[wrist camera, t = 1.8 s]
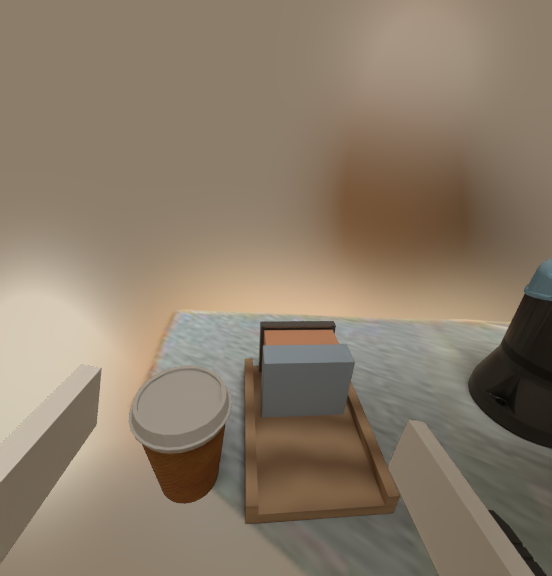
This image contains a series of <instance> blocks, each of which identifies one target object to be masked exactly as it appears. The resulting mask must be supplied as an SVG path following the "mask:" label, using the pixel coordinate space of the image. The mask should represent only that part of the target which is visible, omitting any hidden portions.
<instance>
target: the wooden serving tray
mask: <svg viewBox="0 0 552 576" xmlns="http://www.w3.org/2000/svg"><path fill="white" fill-rule="evenodd" d="M261 379H262V372H259V366H253V359H245V523H246V524H253V523H267V522H280V521H294V520H307V519H321V518H334V517H347V516H361V515H374V514H388V513H393V512H394V510H395V507H396V505H397V502H398V500H399V497H400V495H399V493H398V491H397V488H396V486H395V483H394V481H393V479H392V476H391V474H390V472H389V469H388V467H387V465H386V462H385V460H384V458H383V455H382V453H381V451H380V448H379V446H378V444H377V441H376V439H375V437H374V434H373V432H372V429H371V427H370V425H369V422H368V420H367V418H366V415H365V413H364V411H363V408H362V406H361V404H360V401H359V399H358V397H357V394H356V392H355V390H354V387H353V385H352V383H350V387H349V392H348V397H347V401H346V406H345V411H344V414H342V415H316V416H290V417H263V418H262V409H261Z"/></svg>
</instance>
